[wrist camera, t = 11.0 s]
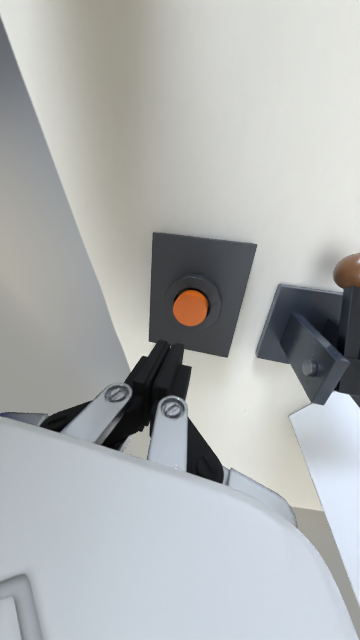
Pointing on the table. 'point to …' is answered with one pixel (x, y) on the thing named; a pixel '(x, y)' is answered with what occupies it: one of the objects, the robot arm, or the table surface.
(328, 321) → the switch bracket
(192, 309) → the button
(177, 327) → the button base
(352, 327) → the lever
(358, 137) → the table surface
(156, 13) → the table surface
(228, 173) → the table surface
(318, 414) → the gable box
